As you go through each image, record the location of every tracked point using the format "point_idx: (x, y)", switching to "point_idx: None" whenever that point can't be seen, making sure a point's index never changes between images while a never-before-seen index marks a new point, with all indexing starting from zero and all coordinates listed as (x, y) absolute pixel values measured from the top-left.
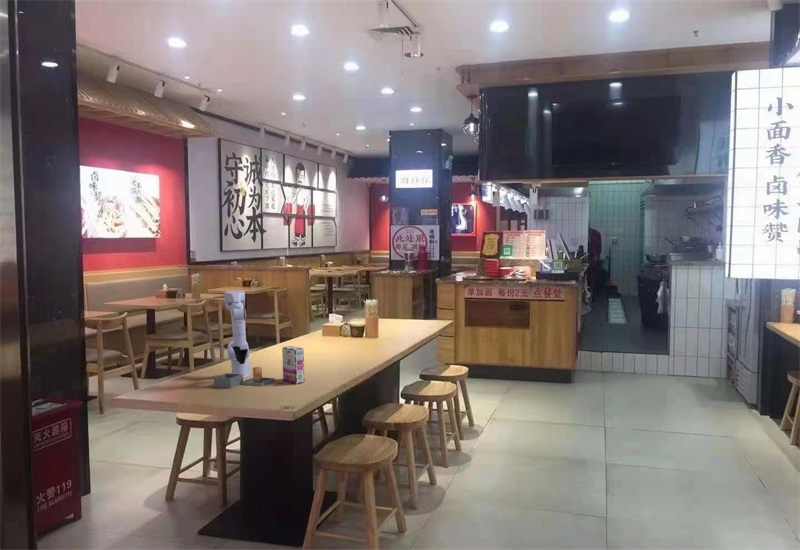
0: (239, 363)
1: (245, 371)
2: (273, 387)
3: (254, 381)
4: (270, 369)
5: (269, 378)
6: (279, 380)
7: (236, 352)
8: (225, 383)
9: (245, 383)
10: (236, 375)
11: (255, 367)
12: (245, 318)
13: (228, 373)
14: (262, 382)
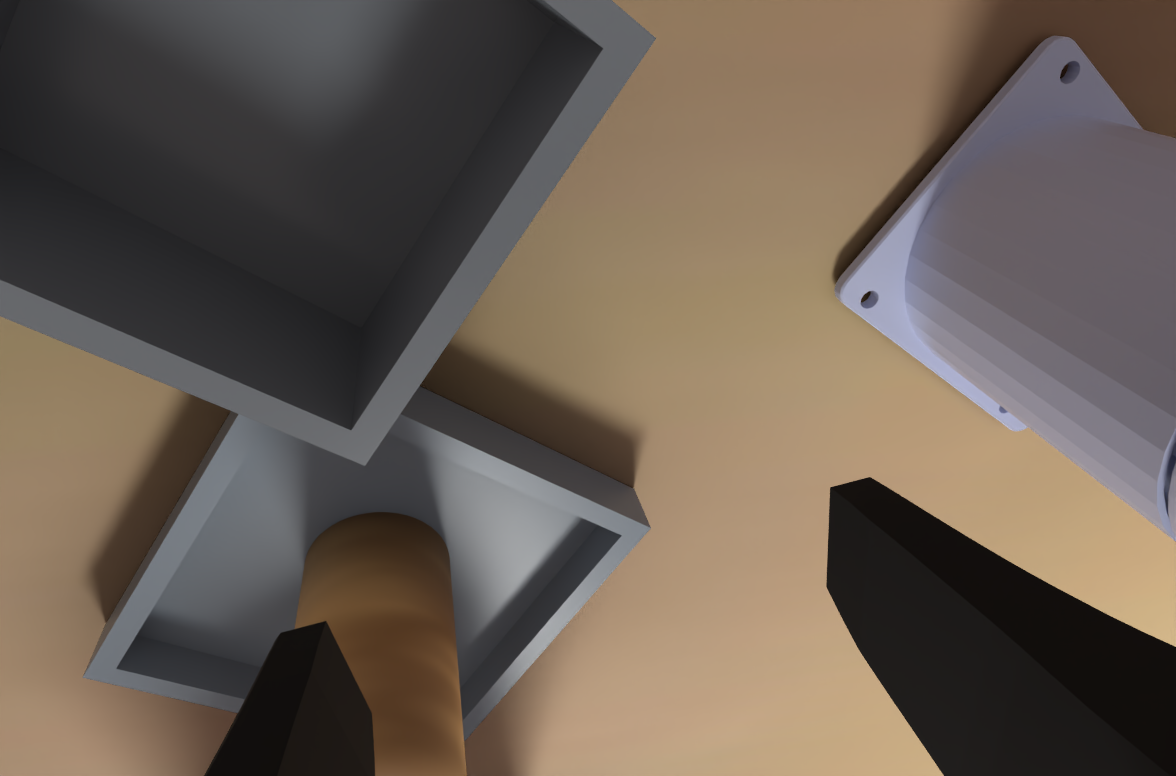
0: (1112, 403)
1: (988, 395)
2: (78, 752)
3: (322, 554)
4: (1169, 579)
5: (468, 707)
6: (512, 742)
7: (1080, 761)
8: None
9: (230, 424)
10: (418, 313)
11: (420, 771)
12: None
13: (585, 110)
14: (156, 682)
